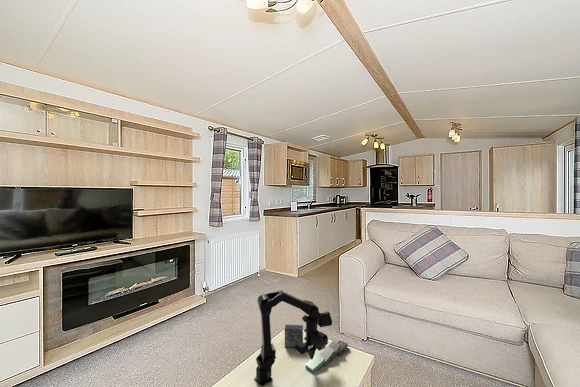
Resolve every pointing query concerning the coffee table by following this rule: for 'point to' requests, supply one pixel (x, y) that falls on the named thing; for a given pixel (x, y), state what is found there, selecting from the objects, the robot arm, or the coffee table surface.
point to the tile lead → (315, 363)
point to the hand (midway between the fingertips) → (311, 359)
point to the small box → (293, 335)
